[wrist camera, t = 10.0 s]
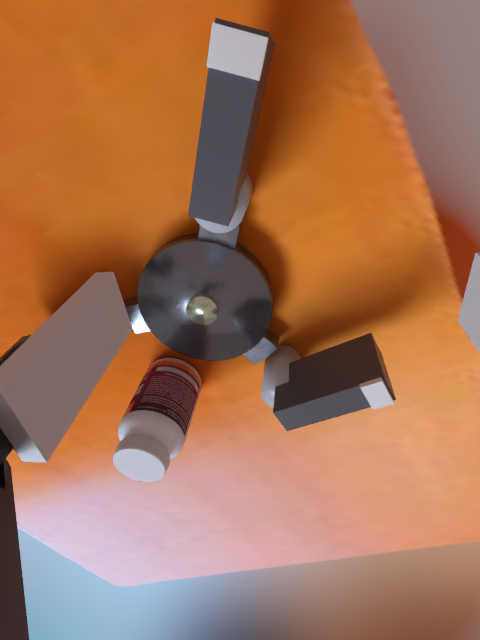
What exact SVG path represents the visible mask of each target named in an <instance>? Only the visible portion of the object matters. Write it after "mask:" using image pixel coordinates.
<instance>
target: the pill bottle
mask: <svg viewBox="0 0 480 640" xmlns="http://www.w3.org/2000/svg"><path fill="white" fill-rule="evenodd" d="M200 390H201V378H200V376H199V374H198V372H197V371H196V369H195V368H194V367H193V366H191V365H190V364H189V363H187V362H185V361H183V360H180V359H176V358H162V359H159V360H156V361H155V362H153V363H152V364H151V365H150V366H149V368H148V369H147V371H146V373H145V375H144V377H143V379H142V381H141V383H140V385H139V387H138V389H137V391H136V393H135V395H134V397H133V399H132V400H131V402H130V404H129V406H128V408H127V410H126V412H125V414H124V416H123V418H122V420H121V422H120V424H119V428H118V435H119V439H120V443H119V444H118V446H117V449H116V451H115V453H114V455H113V463H114V465H115V467H116V468H117V469H118V470H119V471H120V472H121V473H122V474H124V475H125V476H127V477H129V478H132V479H134V480H138V481H143V482H153V481H157V480H160V479H161V478H162V477H163V476H164V475H165V473H166V471H167V468H168V466H169V463H170V459H171V458H173V457H175V456H176V455H177V454H178V453H179V452H180V451H181V449H182V447H183V444H184V441H185V438H186V435H187V432H188V429H189V425H190V422H191V419H192V416H193V412H194V409H195V406H196V403H197V400H198V397H199V393H200Z"/></svg>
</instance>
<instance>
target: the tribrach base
mask: <svg viewBox="0 0 480 640" xmlns="http://www.w3.org/2000/svg"><path fill="white" fill-rule="evenodd" d="M241 223H242V221H241ZM241 223H240V224H239V225H238V226H237V227H236V228H235V229H233V230H231V231H229V232H226V233H214V232H210V231H208V230H206V229H204V228H203V227H202V226H201V225H200V230H199V234H191V235H186V236H182V237H179V238H177V239H174V240H172V241H170V242H169V243H167V244H166V245H164V246H163V247H162V248H161V249H160V250H159V251H158V252H157V253H156V254H155V255H154V256H153V257H152V259H151V260H150V261H149V262H148V264H147V265H146V266H145V268H144V269H143V271H142V273H141V275H140V278H139V282H138V287H137V297H136V298H132V299H128V300H127V301H126V303H125V304H124V305H125V308H126V311H127V314H128V317H129V320H130V323H131V325H132V328H133V330H134V332H135V334H138V333H143V332H148V331H151V332H152V333H153V334H154V335H155V336H156V337H157V338H158V339H159V340H160V341H161V342H163V343H164V344H165V345H167V346H168V347H170V348H171V349H173V350H175V351H176V352H178V353H181V354H183V355H185V356H188V357H192V358H196V359H200V360H209V361H218V360H226V359H231V358H234V357H237V356H240V355H242V354H243V355H244V356H245V357H247V358H248V359H249V360H250V361H252V362H253V363H254V364H255V365H256V364H258V363H259V362H260V361H262V360H263V359H264V358H266V357H267V356H269V355H270V354H271V353H273V352H274V351H275V350H277V349H278V342H279V338H278V337H276V336H275V335H274V334H273V333H272V332H271V331H269V330H268V327H269V325H270V321H271V316H272V306H273V290H272V285H271V282H270V279H269V276H268V274H267V272H266V270H265V269H264V267H263V266H262V264H261V263H260V262H259V260H258V259H257V258H256V257H255V256H254V255H253V254H252V253H251V252H249V251H248V250H247V249H246V248H244V247H243V246H241V245H240V244H238V243H237V241H238V236H239V232H240V228H241Z"/></svg>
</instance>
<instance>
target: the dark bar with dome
mask: <svg viewBox="0 0 480 640" xmlns="http://www.w3.org/2000/svg"><path fill="white" fill-rule="evenodd" d="M261 395H262V399H263V401H264V402H265V403H266V404H267V405H268V406H270V407H272V408H274V409H273V413H274V414H275V416H276V417H277V418H278V420H279V421H280V422H281V424H282V425H283V426H284V428H285V429H286V430H287V431H289V430H293V429H296V428H299V427H303V426H306V425H310V424H313V423H317V422H320V421H324V420H327V419H331V418H334V417H338V416H341V415H345V414H348V413H351V412H355V411H358V410H362V409H365V408H369V407H371V408H372V409H373V410H375V409H378V408H382V407H385V406H389V405H392V404H394V401H393V400H396V398H395V395H394V392H393V389H392V385H391V382H390V379H389V376H388V373H387V370H386V366H385V363H384V360H383V357H382V354H381V351H380V349H379V348H378V346H377V344H376V342H375V340H374V338H373V336H372V334H371V333H369V334H366V335H364V336H361V337H358V338H356V339H353V340H350V341H347V342H345V343H342V344H339V345H337V346H334V347H331V348H329V349H326V350H323V351H320V352H318V353H315V354H312V355H310V356H307V357H304V358H301V356H300V354H299V352H298V351H297V350H296V349H294V348H292V347H290V346H285V345H280V346H278V349H277V350H275V351H274V352H273V353H271V354H270V355H269V356H267V357H266V358H265V366H264V375H263V384H262V393H261Z"/></svg>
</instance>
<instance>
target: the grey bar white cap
mask: <svg viewBox="0 0 480 640" xmlns="http://www.w3.org/2000/svg"><path fill="white" fill-rule="evenodd" d="M274 46H275V43H274V41H273V39H272V37H271V36H270V34H269V32H266V31H262V30H258V29H255V28H251V27H247V26H244V25H240V24H236V23H232V22H229V21H225V20H221V19H218V18H216V19H215V23H213V22H212V29H211V37H210V44H209V52H208V59H207V66H206V67H209V70H208V77H207V84H206V91H205V99H204V106H203V113H202V120H201V128H200V135H199V142H198V149H197V156H196V164H195V171H194V178H193V185H192V193H191V200H190V207H189V214H188V216H190V217H194V218H195V220H196V221H197V222H198V223H199V224H200V225H201V226H202V227H203V228H204V229H206V230H208V231H210V232H214V233H226V232H229V231H231V230H233V229H235V228H236V227H237V226H238V225H239V224H240V223H241V221H242V219H243V217H244V214H245V212H246V209H247V207H248V204H249V202H250V199H251V196H252V193H253V183H252V179H251V177H250V175H249V173H248V172H247V169H248V164H249V160H250V155H251V151H252V146H253V141H254V137H255V132H256V128H257V123H258V119H259V114H260V110H261V105H262V100H263V96H264V91H265V87H266V82H267V78H268V73H269V68H270V64H271V59H272V55H273V50H274Z"/></svg>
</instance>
